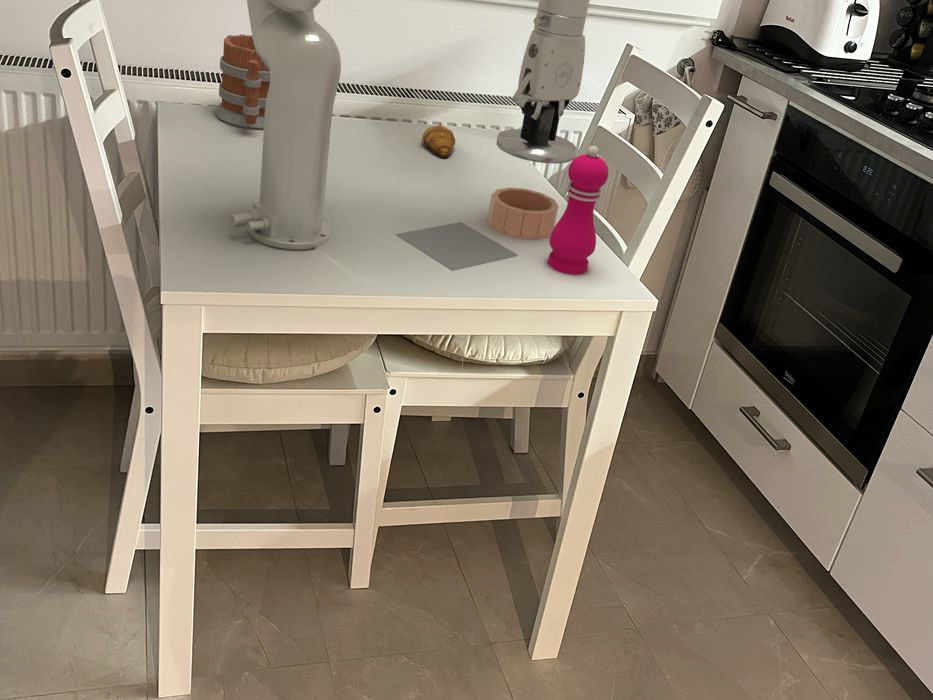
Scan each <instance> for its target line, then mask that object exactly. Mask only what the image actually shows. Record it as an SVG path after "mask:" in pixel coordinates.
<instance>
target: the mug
mask: <svg viewBox="0 0 933 700" xmlns="http://www.w3.org/2000/svg"><path fill="white" fill-rule="evenodd" d="M219 59H220V60H219V69H220V71H222V80H221V82H220V83H219V86H218V87H219V88H218V96H219V97H220V98H221V103H220V104H219V106H218V108H217V109H216V111H215V114H216V116H217V117H218V119H219V120H221V121H222V122H224V123H226V124H227V125H230V126H234V127H238V128H242V129H250V130H263V129H264V115H265V106H266V100H267V95H268V90H269V85H270V77H271V73H270V70H269V69H268V67H267V66H266V65H265V64H264V63H263V61H262V60H261V59H260V57H259V55H258V53H257V51H256V49H255V46H254V42H253V37H252V34H251V35H247V34H238V35H237V34H236V35H231V34H228V35H227V36H226V37H224V39H223V55H221V56H220V58H219Z"/></svg>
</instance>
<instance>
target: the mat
mask: <svg viewBox="0 0 933 700" xmlns="http://www.w3.org/2000/svg"><path fill="white" fill-rule="evenodd" d="M395 236H396V237H398V238H400V239H401V240H403V241H404V242H406V243H408V244H410V245H411V246H412V247H414V248H416V249H417V250H419V251H420V252H422V253H423V254H425V255H426V256H428V257H430V258H431V259H433V260H434V261H436V262H438V263H439V264H440V265H442V266H444V267H445V268H448V270H450V271H452V272H453V271H457V270H462V269H467V268H471V267H475V266H480V265H484V264H488V263H493V262H497V261H498V262H499V261H502V260H506V259H510V258H514V257H515V258H516V257H519V254H517V253H516V252H514V251H512V250H511V249H509V248H507V247H505V246H503V245H501V244H500V243H499V242H496V241H494V240H493V239H492V238H490V237H488V236H486V235H485V234H483V233H481V232H480V231H478V230H477V229H474V228H472V227H471V226H469V225H467V224H466V223H464V222H462V221H459V222H453V223H448V224H442V225H438V226H432V227H427V228H422V229H416V230H411V231H405V232H400V233H399V232H398V233H395Z"/></svg>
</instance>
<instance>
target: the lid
mask: <svg viewBox="0 0 933 700" xmlns="http://www.w3.org/2000/svg"><path fill="white" fill-rule="evenodd" d="M532 105H533V107H534V105H535V102H532ZM554 112H555V107H554V106H553V105H550V104H547V102H543V104H542V107H541V110H540V114H539V117H538V119H540V127H539V132H538V137H537V142H536V143H534V144H532V143H530V142H528V141H526V140H524V139H522V138H521V137H520V135H521V130H522V128H511V129H510V128H509V129H505V130H502V131H500V132H499V133H498V134H497V137H496V146H497V148H498V149H500V150H501V151H502V152H504V153H505V154H508V155H510V156H513V157H516V158H518V159H522V160H524V161H528V162H535V163H541V164H566V163H571V162H572V161H573V160H574V159H575V158H576V155H577V146H576V145H575V144H574V143H573V142H572V141H570V140H568V139H566V138H564V137H562V136H559V135H557V134H556V138H555V141H550V140H549V137H550V132H551V127H552V122H553V117H554Z"/></svg>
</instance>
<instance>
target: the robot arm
mask: <svg viewBox="0 0 933 700" xmlns="http://www.w3.org/2000/svg"><path fill="white" fill-rule="evenodd" d="M321 1H322V0H246V3H247V4H246V5H247V11H248V17H249V18H248V19H249V23H250V30H251V31H250V32H251V36H252V37H253V42H254V46H255V49H256V51H257V53H258V55H259V57H260V59H261V60H262V61H263V63H264V64H265V65H266V66H267V67H268V69H269V70H270V73H271V77H270V85H269V90H268V95H267V100H266V106H265V115H264V129H262V130H263V136H262V137H263V138H262V151H261V152H262V153H261V155H262V156H261V171H260V172H261V173H260V186H259V187H260V188H259V201H256V202H253V203H252V209H249V210H248V211H246V212H240V213H239V212H238V213H233V214H230V215H229V217H228V223H229V225H230V227H231V228H239V227H244V226H245V228H246V230H247V232H248V234H249V235H250V237H252V238H253V239H254V240H256V241H258V242H259V243H262V244H264V245H267V246H270V247H274V248H279V249H285V250H310V249H313V248H314V249H315V248H317V247H320V246H322V245H325V244H327V243H328V242H329V241H330V240H331V238H332V231H333V230H332V226H330V224H329V223H328V222H327V221H325V220H324V219H323V217H324V208H325V207H324V204H325V197H326V195H325V194H326V182H327V174H328V163H329V162H328V161H329V153H330V142H331V140H330V139H331V130H332V129H331V128H332V119H333V111H334V103H335V100H336V99H335V98H336V96H337V93H338V91H337V90H338V87H339V83H340V79H341V78H340V77H341V72H342V59H341V55H340V54H341V53H340V51H339V50H340V49H339V48H338V45H337V43H336V41H335V40H334V38H333V37H332V35H331V34H330V33H329V32H328V31H327V29H325V27H323V26H322V25H321V24H319V23H318V22H317V21H316V20H315V12H314V9H315V8H316V7H318V5H319V4H320V3H321ZM537 4H538V5H537V10H536V15H535V17H534V18H533V25H534V27H533V30H532V31H531V33H530V36H529V37H528V38H529V39H528V42H527V44H526V46H525V47H526V48H525V52H524V55H523V59H522V63H521V66H520V67H521V68H520V72H519V76H518V84H517V90H516V91H515V93H514V94H513V96H512V101H513V102H515V103H516V104H517V105H518V106H519V108H520V109H521V114H522V115H523V119H522V125H521V129H522V130H521V135H520V137H521V138H522V139H524V140H526V141H528V142H530V143H532V144H534V143H536V142H537V137H538V132H539V127H540V119H538V117H539V114H540V110H541V107H542V104H543V103H547V104H550V105H553V106H554V107H555V112H554V117H553V122H552V127H551V132H550V137H549V140H550V141H555V138H556V135H557V134H558V133H557V132H558V127H559V122H560V118H561V117H563V115H564V111H565V109H566V108H567V107H568V106H569V104H570V103H571V102H572V101H573V100H575V99H576V97H577V96H579V92H580V89H581V83H582V77H583V72H584V64H585V55H586V36H585V35H584V30H585V23H586V19H587V16H588V15H587V14H588V10H589V6H590V5H589V4H590V0H538V3H537ZM533 103H535V105H534V107H533Z"/></svg>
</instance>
